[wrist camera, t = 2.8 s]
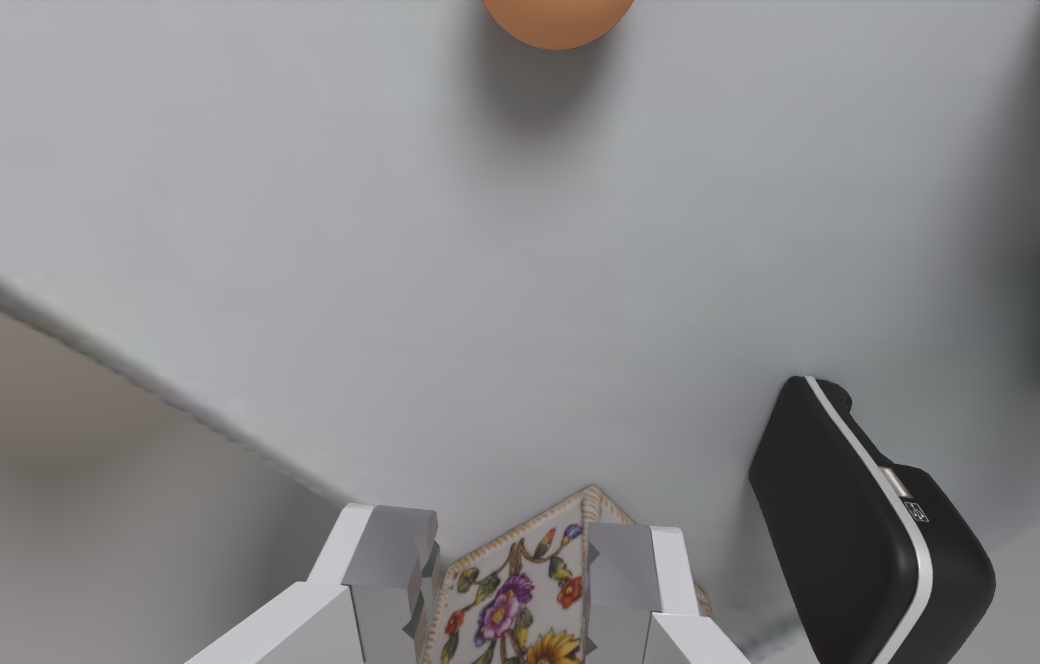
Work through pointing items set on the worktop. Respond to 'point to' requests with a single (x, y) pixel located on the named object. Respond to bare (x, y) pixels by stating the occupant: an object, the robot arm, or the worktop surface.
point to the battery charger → (865, 538)
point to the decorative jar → (524, 591)
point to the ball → (557, 20)
